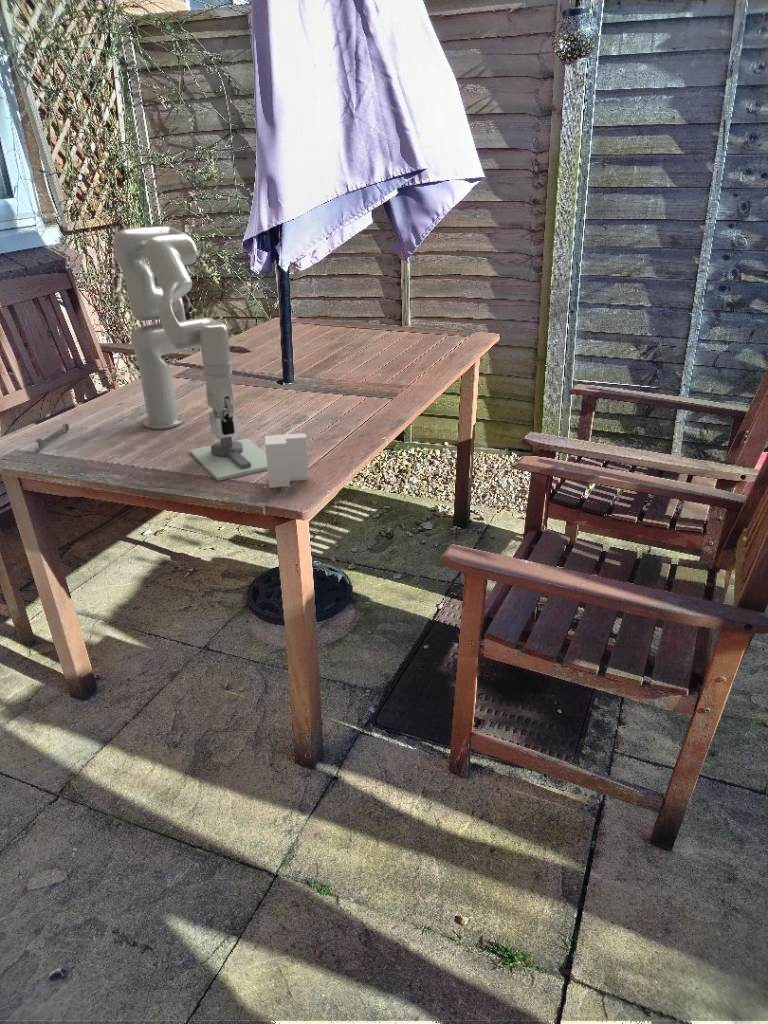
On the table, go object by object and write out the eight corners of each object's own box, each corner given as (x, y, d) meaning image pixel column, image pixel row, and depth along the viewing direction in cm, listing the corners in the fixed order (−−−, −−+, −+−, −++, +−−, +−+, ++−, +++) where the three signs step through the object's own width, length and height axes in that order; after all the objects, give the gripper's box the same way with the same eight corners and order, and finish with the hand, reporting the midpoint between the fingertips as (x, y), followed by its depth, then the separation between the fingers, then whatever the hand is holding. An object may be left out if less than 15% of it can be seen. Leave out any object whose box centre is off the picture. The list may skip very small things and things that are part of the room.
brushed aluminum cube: (211, 432, 204) (209, 412, 201) (231, 428, 207) (229, 409, 204) (218, 438, 199) (216, 418, 197) (238, 434, 202) (236, 414, 199)
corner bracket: (269, 487, 184) (265, 444, 179) (267, 471, 194) (264, 430, 189) (310, 484, 186) (307, 441, 181) (306, 468, 196) (303, 427, 191)
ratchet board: (190, 453, 207) (187, 433, 204) (247, 441, 215) (245, 422, 213) (217, 481, 189) (215, 459, 186) (279, 467, 197) (278, 446, 194)
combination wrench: (64, 420, 225) (30, 441, 207) (68, 420, 225) (35, 441, 207) (67, 431, 227) (33, 453, 209) (71, 432, 227) (37, 453, 209)
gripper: (194, 364, 199) (202, 424, 207) (215, 378, 186) (222, 442, 194) (220, 360, 203) (226, 420, 211) (242, 373, 190) (248, 437, 198)
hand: (224, 430), depth 202 cm, fingers closed on brushed aluminum cube, 6 cm apart
